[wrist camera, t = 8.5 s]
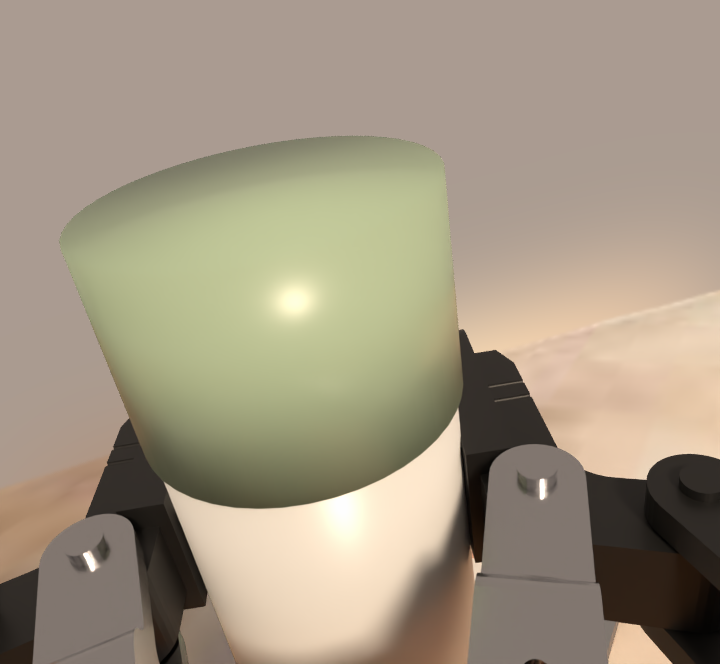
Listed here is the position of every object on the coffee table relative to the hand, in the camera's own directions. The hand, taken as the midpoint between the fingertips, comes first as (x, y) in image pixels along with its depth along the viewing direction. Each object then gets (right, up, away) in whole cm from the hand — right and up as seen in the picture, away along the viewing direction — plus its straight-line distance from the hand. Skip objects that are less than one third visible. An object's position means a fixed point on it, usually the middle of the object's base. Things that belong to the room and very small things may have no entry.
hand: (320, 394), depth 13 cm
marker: (+1, -7, +1) cm, 8 cm away
